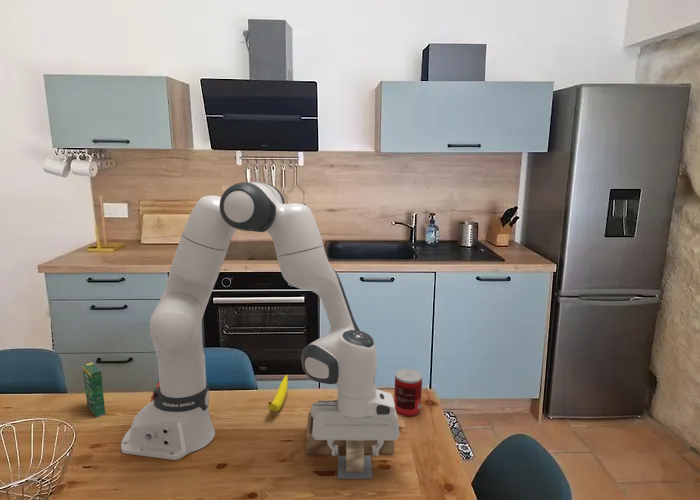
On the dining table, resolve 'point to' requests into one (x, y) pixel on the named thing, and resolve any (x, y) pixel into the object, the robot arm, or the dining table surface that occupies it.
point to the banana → (279, 396)
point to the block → (354, 455)
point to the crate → (340, 443)
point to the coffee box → (94, 389)
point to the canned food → (408, 392)
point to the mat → (354, 475)
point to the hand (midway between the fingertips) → (354, 454)
